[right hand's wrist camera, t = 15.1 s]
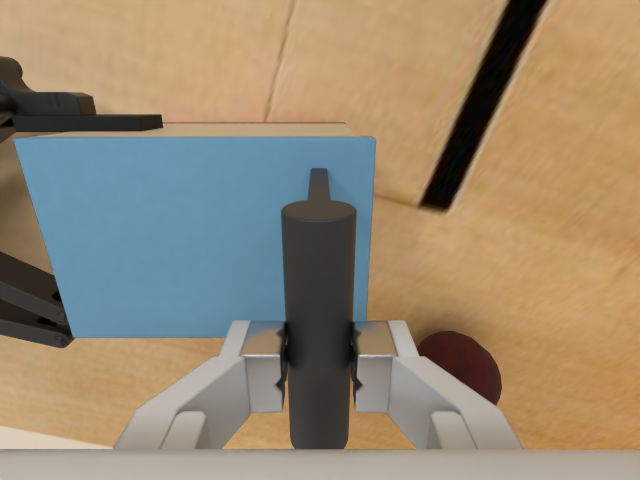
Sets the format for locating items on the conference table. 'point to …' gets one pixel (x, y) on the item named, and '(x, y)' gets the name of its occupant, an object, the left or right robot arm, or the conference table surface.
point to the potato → (464, 362)
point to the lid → (215, 246)
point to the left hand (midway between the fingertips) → (167, 216)
